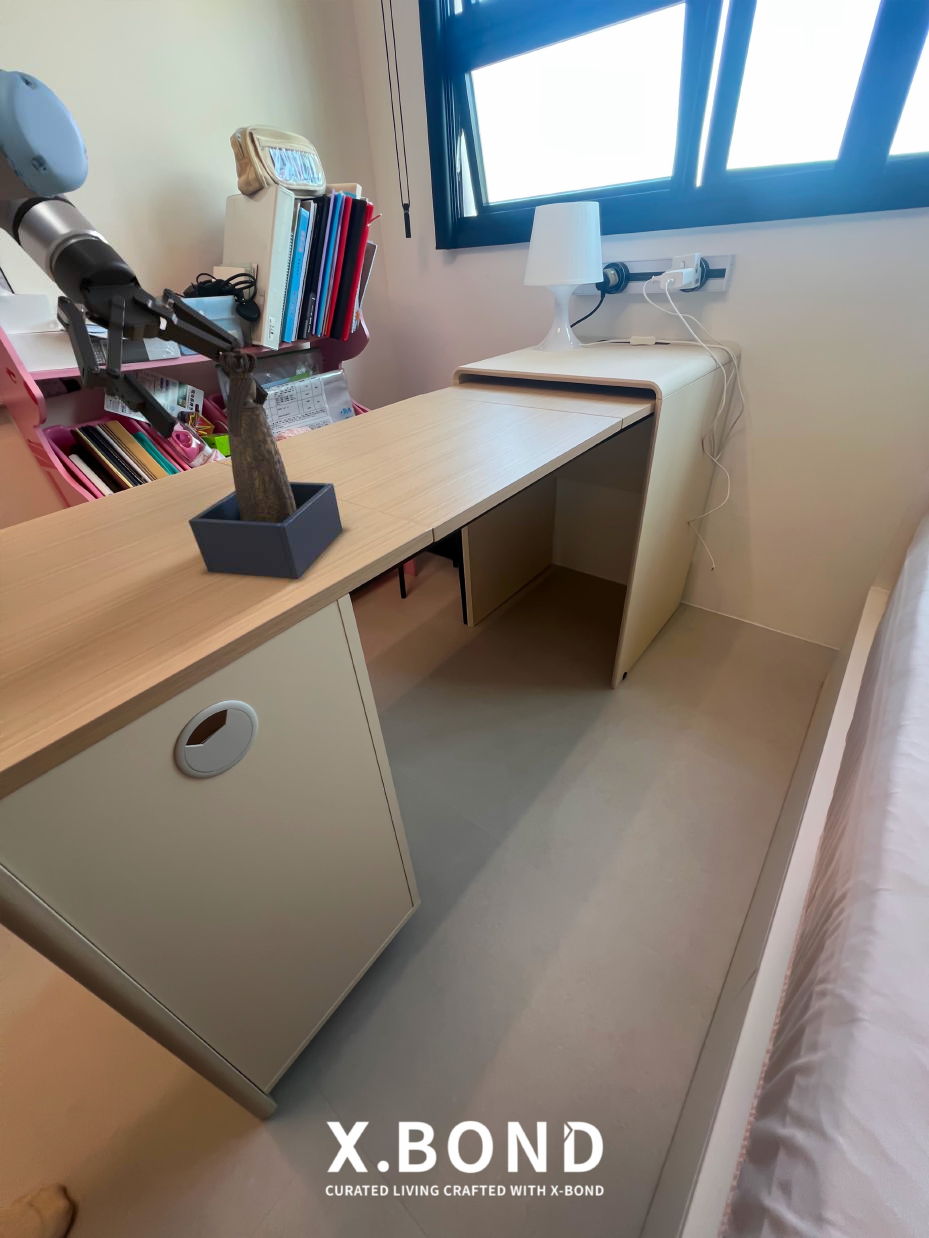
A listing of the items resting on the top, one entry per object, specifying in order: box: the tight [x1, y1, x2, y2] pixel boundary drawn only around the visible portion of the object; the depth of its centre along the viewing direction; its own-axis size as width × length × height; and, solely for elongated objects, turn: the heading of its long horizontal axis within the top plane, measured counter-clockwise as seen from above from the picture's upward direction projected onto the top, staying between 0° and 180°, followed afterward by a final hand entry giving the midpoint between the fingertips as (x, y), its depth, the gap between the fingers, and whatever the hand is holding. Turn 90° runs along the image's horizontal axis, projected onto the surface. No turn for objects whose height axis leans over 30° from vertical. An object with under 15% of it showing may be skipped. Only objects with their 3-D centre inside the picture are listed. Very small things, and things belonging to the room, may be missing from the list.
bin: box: [188, 481, 344, 580], centre depth 66 cm, size 13×14×7 cm
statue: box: [219, 337, 297, 523], centre depth 61 cm, size 9×8×25 cm
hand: (220, 415), depth 60 cm, fingers open, 13 cm apart
